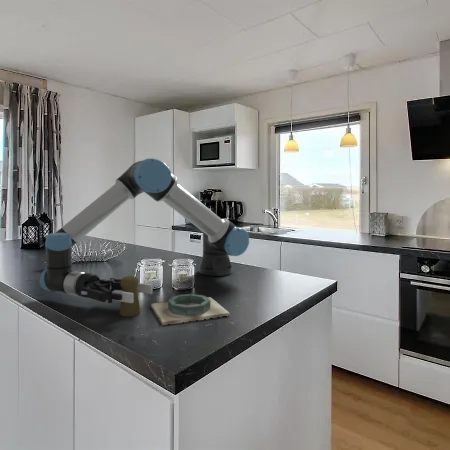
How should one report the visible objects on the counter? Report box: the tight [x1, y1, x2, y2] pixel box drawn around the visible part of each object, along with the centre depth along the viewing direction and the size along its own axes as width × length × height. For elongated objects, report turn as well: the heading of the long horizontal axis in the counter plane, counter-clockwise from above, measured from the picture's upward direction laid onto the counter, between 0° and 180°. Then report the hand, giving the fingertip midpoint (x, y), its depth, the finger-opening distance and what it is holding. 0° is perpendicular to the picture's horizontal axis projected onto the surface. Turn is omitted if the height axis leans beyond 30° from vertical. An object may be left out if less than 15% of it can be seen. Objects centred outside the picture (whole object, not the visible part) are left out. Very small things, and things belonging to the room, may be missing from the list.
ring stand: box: [150, 293, 231, 326], centre depth 105 cm, size 20×16×4 cm
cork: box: [119, 275, 141, 317], centre depth 103 cm, size 6×6×11 cm
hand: (142, 293), depth 101 cm, fingers open, 9 cm apart
